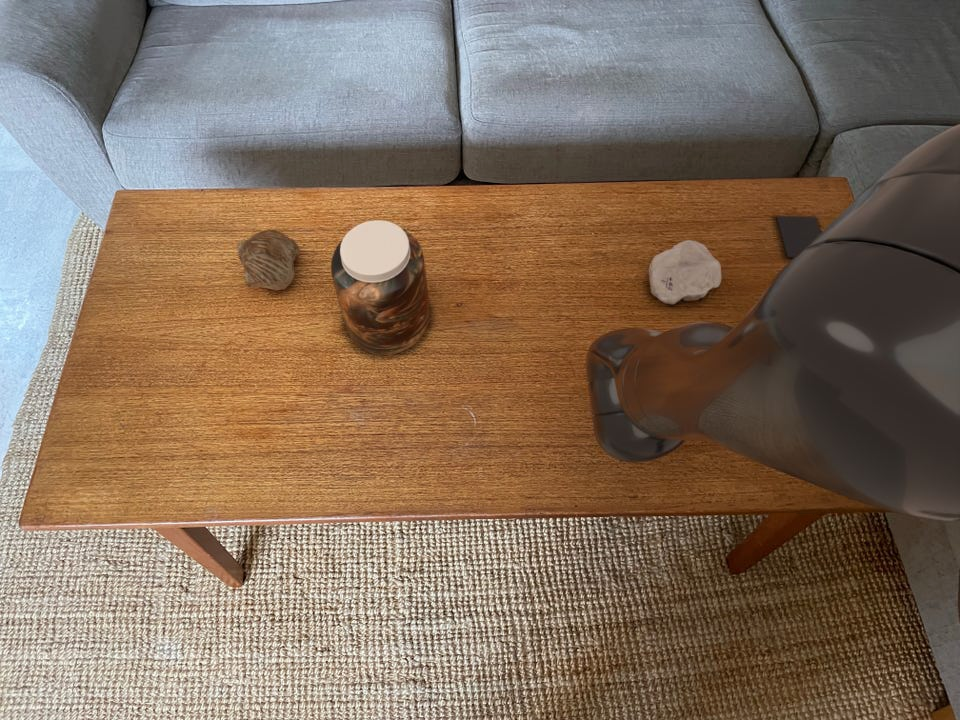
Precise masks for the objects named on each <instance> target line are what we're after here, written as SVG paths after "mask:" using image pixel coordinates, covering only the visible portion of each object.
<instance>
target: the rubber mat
mask: <svg viewBox="0 0 960 720" xmlns="http://www.w3.org/2000/svg"><path fill="white" fill-rule="evenodd" d="M775 219H776V222H777V226H778V231H779V234H780V237H781V242H782V245H783V248H784V252H785V256H786V259H793V258H794V257H795V256H797V255H798V254H800V253H801V252H802V251H803V250H804V249H805V248H806V247H807V246H808V245H809V244H810V243H811V242H812V241H813V240H814V239H815V238H816V237H817V236H818V235H820V234H821V233H822V231H821V230H820V226H819V222H818V219H817V217H812V216H811V217H810V216H809V217H807V216H784V215H783V216H782V215H781V216H780V215H777V216H776V217H775Z"/></svg>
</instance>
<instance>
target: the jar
mask: <svg viewBox="0 0 960 720" xmlns="http://www.w3.org/2000/svg"><path fill="white" fill-rule="evenodd" d="M425 262H426V261H425V257H424V253H423V249H422V247H421V244H420V243H419V241H418V240H417V239H416V237H414V235H412V234H411V233H410V232H409V231H407V230H406V229H404V228H402V227H401V226H400V225H398V224H395V222H391V221H388V220H382V219H374V220H368V221H365V222H362V223H359V224H357V225H355V226H354V227H352V228H351V229H350V230H349V231H347V233H346V234H345V235H344V237H343V238H342V240H341V241H340V242H339V243H338V244H337V246H336V248H335V250H334V252H333V253H332V256H331V262H330V272H331V278H332V282H333V286H334V287H333V288H334V291H335V294H336V295H335V296H336V298H337V302H338V305H339V309H340V312H341V315H342V318H343V323H344V325H345V328H346V332H347V334H348V336H349V338H350V339H351V341H352V342H353V343H354V345H355V346H357V348H359V349H360V350H362V351H364V352H366V353H369V354H371V355H377V356H392V355H396V354H400V353H403V352H405V351H407V350H409V349H410V348H412V347H414V346H415V345H416V344H417V343H418V342H419V341H421V339H422V338H423V337H424V335H425V334H426V332H427V330H428V327H429V323H430V318H431V317H430V314H431V313H430V301H429V300H430V299H429V289H428V288H429V287H428V279H427V270H426V263H425Z"/></svg>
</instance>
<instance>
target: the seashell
mask: <svg viewBox="0 0 960 720" xmlns="http://www.w3.org/2000/svg"><path fill="white" fill-rule="evenodd" d="M236 249H237V255H238V259H239V260H240V262H241V265H242V266H243V270H244V284H245V285H246V286H247V287H248V288H253V287H257V288H258V287H259V288H263V289H268V290H273V291H281V290H286V289H287V288H288V287H290V285H291V284H292V282H293V280H294V279H295V275H296V272H295V268H294V263H295V261H296V260H297V259H298V258H299V257H300V254H301V248H300V246H299V245H298V243H297V242H296V241H295V240H294V239H293V238H290V237H289V236H288V235H286V234H285V233H284V232H281V231H279V230H276V229H266V230H262V231H259V232H257V233H255V234H254V235H252V236H251V237H249V238H248V239H246V240H244V241H241V242H239V243H238V244H237V245H236Z"/></svg>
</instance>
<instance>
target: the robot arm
mask: <svg viewBox="0 0 960 720" xmlns="http://www.w3.org/2000/svg"><path fill="white" fill-rule="evenodd" d="M585 375H586V382H587V390H588V397H589V404H590V405H589V406H590V411H591V415H592V416H591V419H592V427H593V433H594V436H595V440H596V442H597V444H598V446H599V447H600V448H601V449H602V450H603V452H605V453H606V454H607V455H608V456H610V457H611V458H613V459H615V460H617V461H620V462H624V463H630V464H637V463H639V464H640V463H648V462H652V461H656V460H659V459H661V458H664V457H666V456H668V455H670V454H672V453H674V452H675V451H677V450H678V449H679V448H680V447H682V446H683V445H684V444H685V443H686V442H687V441H688V442H689V441H692V442H707V443H710V444H713V445H716V446H718V447H721V448H724V449H726V450H729V451H730V452H732V453H735V454H736V455H739V456H742V457H744V458H746V459H748V460H751V461H753V462H755V463H758V464H760V465H762V466H765V467H766V468H770V469H771V470H774V471H777V472H780V473H782V474H785V475H788V476H791V477H794V478H796V479H799V480H801V481H803V482H806V483H808V484H811V485H814V486H816V487H819V488H821V489H823V490H826V491H829V492H831V493H834V494H837V495H839V496H841V497H844V498H847V499H850V500H852V501H855V502H858V503H861V504H864V505H866V506H869V507H872V508H876V509H880V510H884V511H887V512H891V513H894V514H899V515H904V516H907V517H908V516H909V517H913V518H917V519H925V520H931V521H941V522H960V123H958V124H956V125H954V126H951V127H949V128H946V129H944V130H943V131H940V132H939V133H937V134H935V135H933V136H932V137H930V138H929V139H928V140H925V141H924V142H922V143H921V144H919V145H918V146H916V147H915V148H914V149H912V150H910V151H909V152H908V153H907V154H905V155H904V156H903V157H902V158H900V159H899V160H897V162H895V163H894V164H893V165H892V166H890V168H888V169H887V170H886V171H885V172H884V173H882V174H881V175H880V176H879V177H878V178H877V179H876V180H874V181H872V183H871V184H869V186H867V187H866V188H865V189H864V190H863V191H862V192H861V193H860V194H859V195H858V196H857V197H856V199H855V200H854V201H853V202H852V203H851V204H850V205H849V206H847V208H846V209H845V210H843V211H842V212H841V213H840V214H839V215H838V216H837V217H836V218H835V219H833V221H832V222H831V223H830V224H829V225H828V226H826V228H825V229H824V230H822V231H821V234H820V235H818V236H817V237H816V238H815V239H814V240H813V241H812V242H811V243H810V244H809V245H808V246H807V247H806V248H805V249H804V250H803V251H802V252H801V253H800V254H798V255H797V256H795V257H794V258H791V260H790V261H789V262H788V263H786V264H785V265H784V266H783V267H782V268H781V269H780V270H779V271H778V272H777V273H776V275H775V276H774V277H773V279H772V280H771V281H770V283H769V284H768V286H767V287H766V288H765V290H764V291H763V293H762V294H761V296H760V297H759V299H758V300H757V302H756V303H755V304H754V306H753V307H752V308H751V309H750V310H749V311H748V312H747V314H746V315H745V316H744V317H743V318H742V319H741V320H740V321H739V322H738V323H737V324H736V325H735V326H734V327H733V326H730V325H727V324H725V323H720V322H719V323H718V322H712V321H697V322H690V323H686V324H683V325H678V326H675V327H673V328H670V329H668V330H666V331H664V332H663V331H659V330H655V329H650V328H643V327H642V328H641V327H628V328H620V329H614V330H611V331H607V332H606V333H603V334H601V335H600V336H599V337H597V338H596V339H595V340H594V341H593V342H592V343H591V344H590V346H589V347H588V350H587V352H586V357H585ZM958 571H959V572H958V587H957V589H958V590H957V613H958V614H957V615H958V621H959V623H960V568H959V570H958Z"/></svg>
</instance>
